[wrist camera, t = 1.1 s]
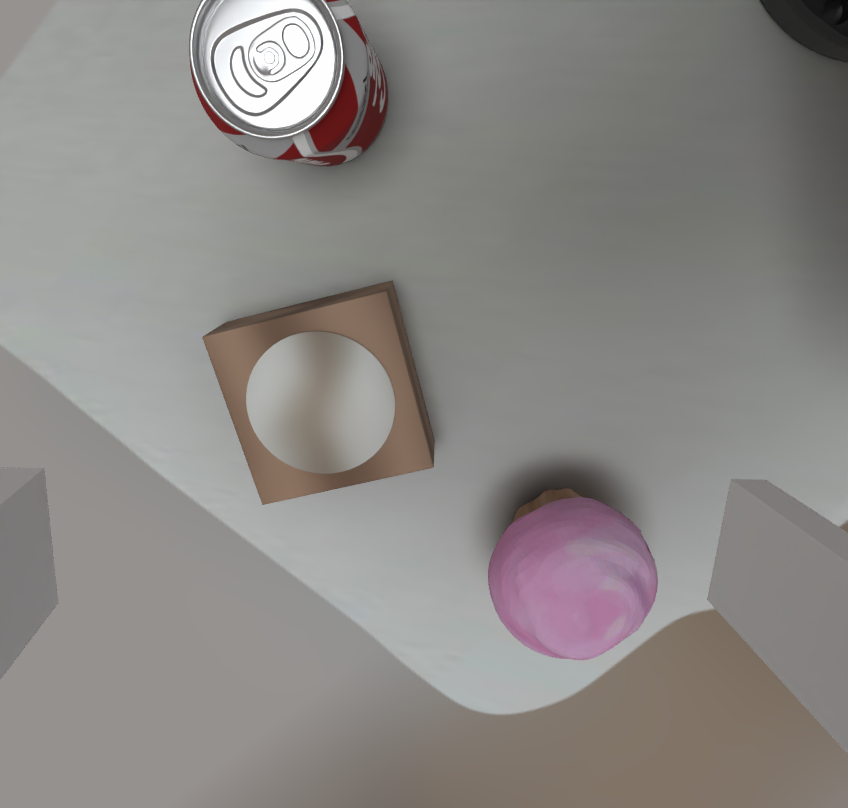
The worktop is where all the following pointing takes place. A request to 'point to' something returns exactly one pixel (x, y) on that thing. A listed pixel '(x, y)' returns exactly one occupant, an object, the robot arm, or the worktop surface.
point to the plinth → (323, 393)
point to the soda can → (288, 78)
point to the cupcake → (571, 576)
